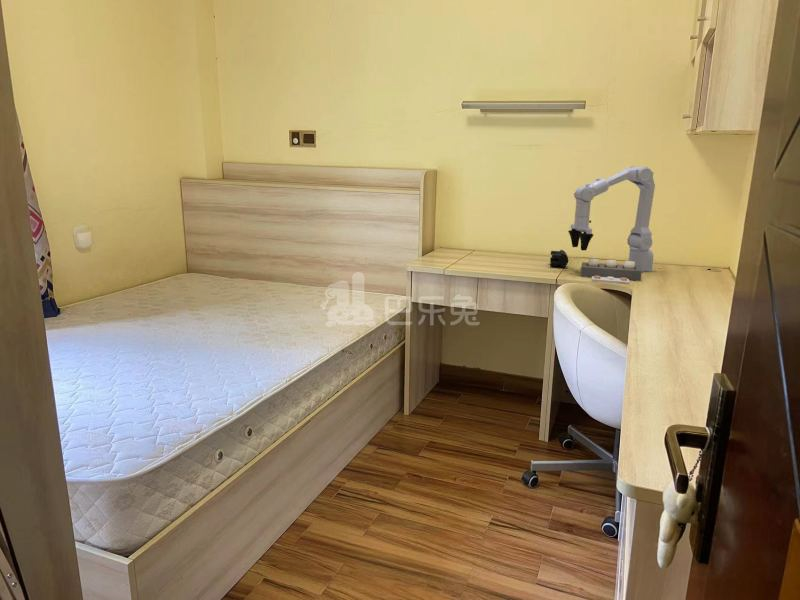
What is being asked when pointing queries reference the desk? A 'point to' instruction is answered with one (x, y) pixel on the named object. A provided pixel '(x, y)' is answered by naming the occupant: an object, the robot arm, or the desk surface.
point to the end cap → (558, 259)
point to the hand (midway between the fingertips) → (579, 248)
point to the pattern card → (610, 279)
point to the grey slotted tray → (611, 271)
